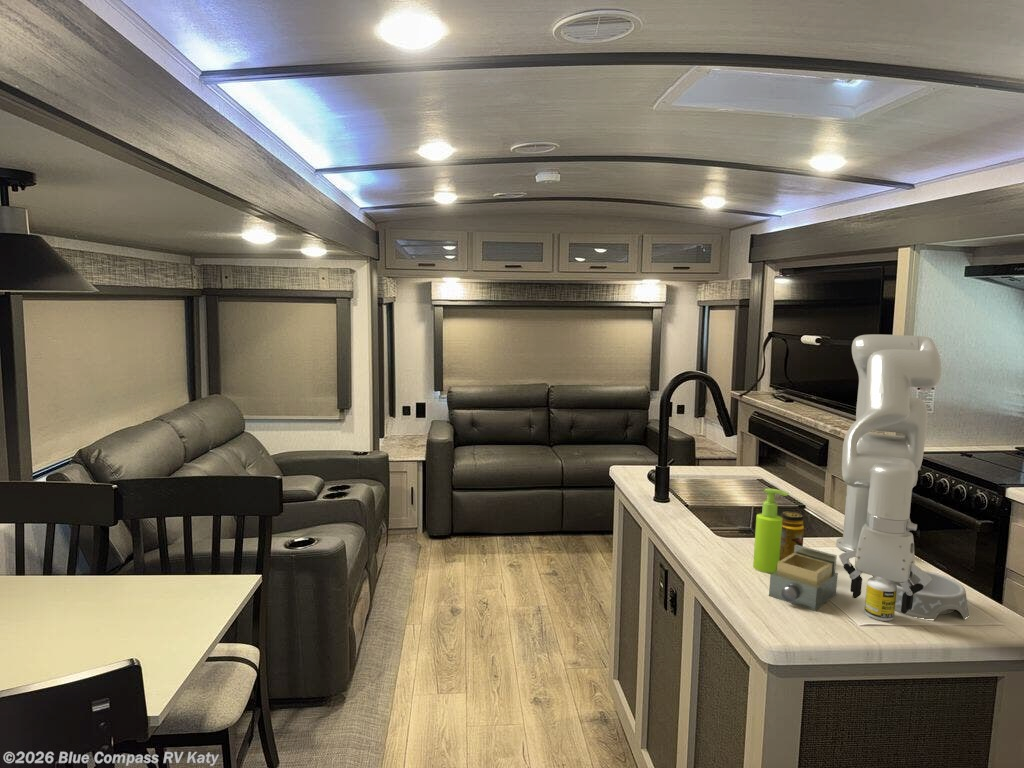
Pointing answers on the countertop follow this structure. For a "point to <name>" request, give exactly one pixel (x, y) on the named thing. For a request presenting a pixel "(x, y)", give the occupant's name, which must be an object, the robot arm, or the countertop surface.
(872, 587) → the supplement bottle
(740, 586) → the countertop surface
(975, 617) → the countertop surface
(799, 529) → the condiment
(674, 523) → the countertop surface
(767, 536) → the soap dispenser
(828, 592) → the grey and tan box
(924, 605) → the dog bowl
